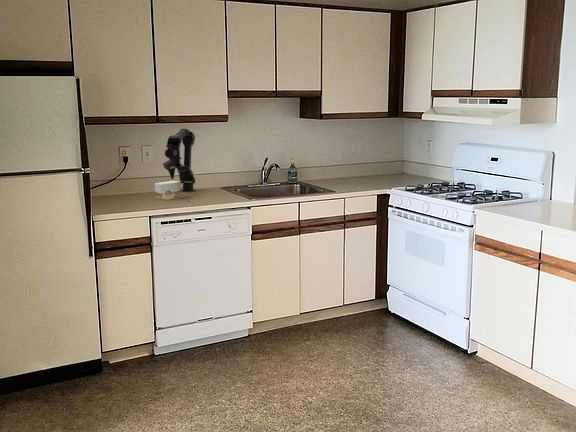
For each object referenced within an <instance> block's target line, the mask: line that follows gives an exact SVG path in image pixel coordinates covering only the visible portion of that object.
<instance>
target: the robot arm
mask: <svg viewBox="0 0 576 432" xmlns="http://www.w3.org/2000/svg"><path fill="white" fill-rule="evenodd" d="M195 140H196V135H195V134H194V132H192V131H191V130H189V129H188V128H181V129H179V131H178V132H177V133H175V134H172V135H169V136H168V138H167V143H166V148H167V149H165V150H164V156H165V157H166V158H168V160H166V161H165V162H163V163H162V165H163V169H165V170H166V171H168V173H169V175H170V179H171V180H174V177H175V171H176V170H177V173H178V176H179V178H178V179H179V181H181V183H182V192H186V193H187V192H193V191H194V184H196V178H195V176H194V171H193V170H192V148H193V146H194V144H195ZM181 145H183V146H184V151H183V155H184V156H183V164H182V163H181V160H182V157H181V150H180V148H181Z"/></svg>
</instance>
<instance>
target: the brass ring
mask: <svg viewBox="0 0 576 432" xmlns="http://www.w3.org/2000/svg"><path fill="white" fill-rule="evenodd" d="M175 194H176V193H174V192H171V194H169V195H166V194H165V193H162V194H161V196H162V198H161V199H162V200H167V201H171V200H170V199H174V198H175ZM174 200H175V199H174Z"/></svg>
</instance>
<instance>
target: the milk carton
mask: <svg viewBox="0 0 576 432" xmlns="http://www.w3.org/2000/svg"><path fill="white" fill-rule="evenodd" d="M166 190H170V191H171V193H174V192H176V193H177V192H180V191H181V190H182V191H183V183H181V181H180V180H169V181H161V182H155V183H154V193H157V194H161V195H162V194H163V193H165V191H166Z"/></svg>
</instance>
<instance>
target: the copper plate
mask: <svg viewBox="0 0 576 432" xmlns="http://www.w3.org/2000/svg"><path fill="white" fill-rule="evenodd" d="M190 197H191V198H192V197H194V195H193V194H187V193H182V192H176V193H175V198H174V199H170V200H169V201H171V200H172V201H173V200H180V199H185V198H190ZM156 198H158V199H162V195H158V196H156Z"/></svg>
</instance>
